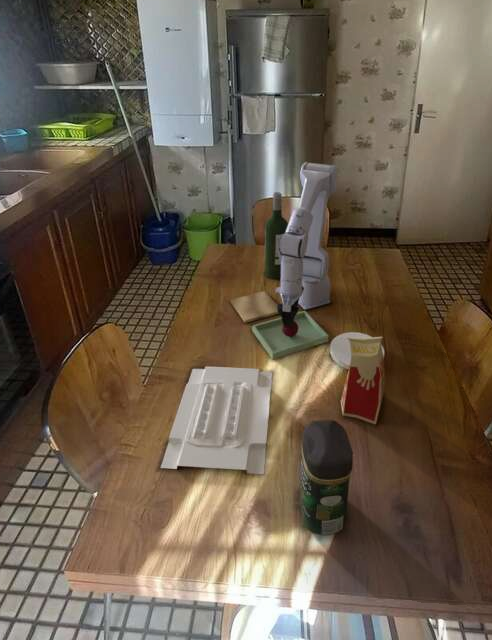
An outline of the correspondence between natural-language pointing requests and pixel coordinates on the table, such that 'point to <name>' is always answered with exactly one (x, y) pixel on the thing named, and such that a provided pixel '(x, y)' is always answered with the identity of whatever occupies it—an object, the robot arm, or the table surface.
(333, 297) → the table surface
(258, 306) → the board
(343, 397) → the milk carton
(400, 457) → the table surface
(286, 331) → the plum
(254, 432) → the tray
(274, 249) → the wine bottle
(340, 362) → the plastic lid
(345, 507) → the coffee jar
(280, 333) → the tray
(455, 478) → the table surface
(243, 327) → the table surface
